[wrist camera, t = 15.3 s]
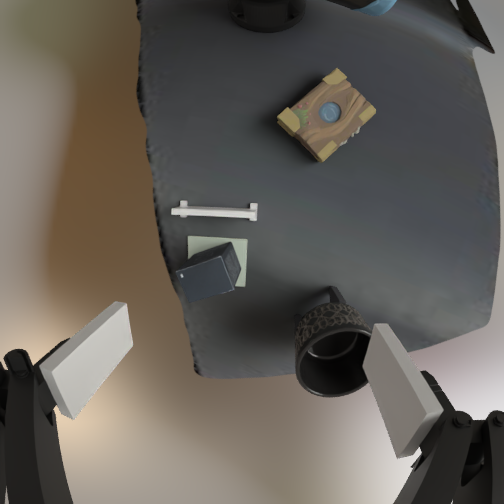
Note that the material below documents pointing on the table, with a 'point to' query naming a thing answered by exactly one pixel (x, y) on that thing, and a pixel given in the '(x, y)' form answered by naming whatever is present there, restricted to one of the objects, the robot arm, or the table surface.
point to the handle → (216, 211)
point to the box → (209, 272)
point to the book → (327, 116)
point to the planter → (331, 348)
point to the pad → (205, 243)
